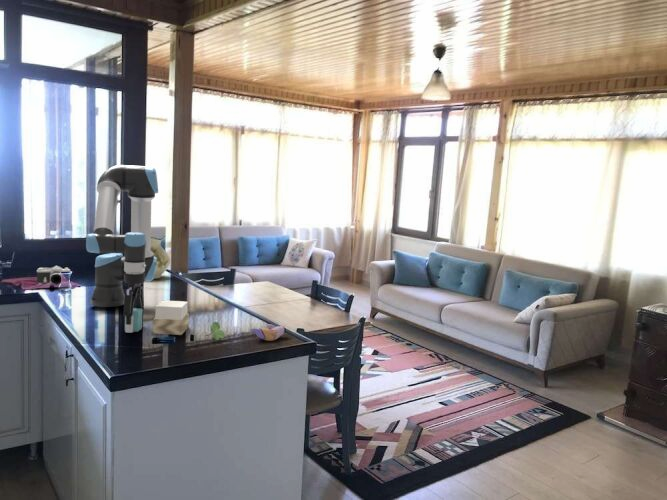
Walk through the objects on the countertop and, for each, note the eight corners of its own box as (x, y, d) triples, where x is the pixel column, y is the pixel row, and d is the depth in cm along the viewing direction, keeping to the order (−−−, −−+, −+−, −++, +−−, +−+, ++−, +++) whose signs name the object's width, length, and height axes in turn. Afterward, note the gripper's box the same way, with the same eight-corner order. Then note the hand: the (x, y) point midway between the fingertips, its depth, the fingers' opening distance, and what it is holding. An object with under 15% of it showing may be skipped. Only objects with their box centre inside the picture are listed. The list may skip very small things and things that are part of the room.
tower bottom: (152, 333, 208) (153, 318, 208) (161, 326, 219) (161, 312, 219) (181, 335, 209) (181, 320, 208) (188, 327, 220) (189, 313, 219)
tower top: (155, 318, 208) (155, 306, 207) (162, 312, 218) (162, 300, 217) (181, 320, 208) (181, 307, 208) (187, 313, 218) (187, 301, 218)
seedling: (212, 348, 209) (225, 342, 206) (197, 341, 203) (209, 334, 201) (213, 333, 213) (225, 326, 211) (198, 324, 208) (211, 318, 206)
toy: (247, 323, 209) (279, 321, 219) (246, 339, 209) (279, 336, 219) (258, 327, 202) (292, 324, 211) (258, 343, 202) (292, 340, 211)
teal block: (124, 330, 209) (125, 310, 208) (129, 327, 214) (129, 307, 213) (137, 331, 209) (138, 311, 208) (142, 328, 214) (142, 308, 213)
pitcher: (162, 281, 307) (163, 238, 304) (121, 279, 307) (121, 235, 304) (174, 275, 330) (175, 234, 326) (135, 272, 330) (136, 231, 327)
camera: (35, 286, 276) (35, 266, 275) (36, 282, 284) (36, 264, 283) (70, 285, 284) (70, 266, 282) (70, 282, 291) (70, 263, 290)
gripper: (134, 277, 198) (133, 337, 201) (153, 268, 220) (152, 322, 222) (113, 276, 198) (113, 336, 201) (134, 267, 220) (133, 321, 222)
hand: (133, 328), depth 212 cm, fingers open, 9 cm apart
